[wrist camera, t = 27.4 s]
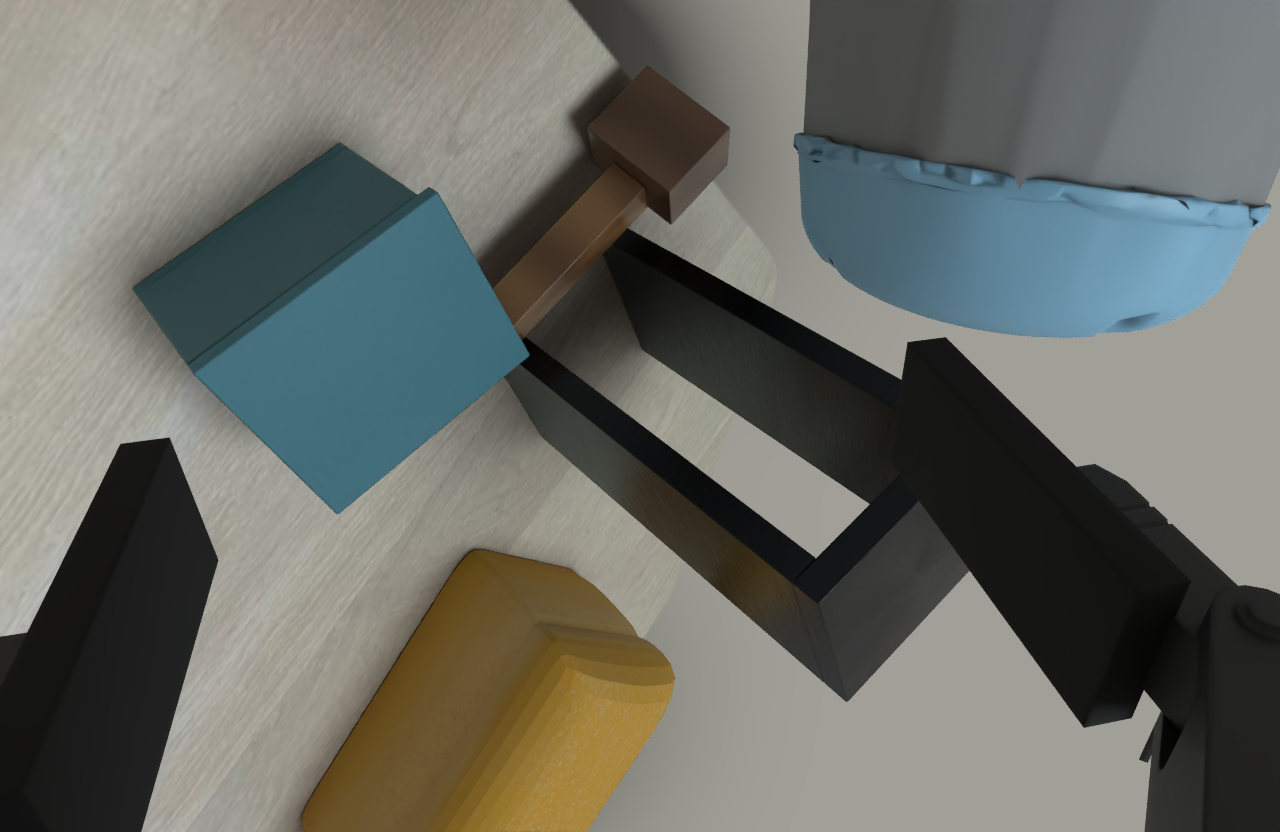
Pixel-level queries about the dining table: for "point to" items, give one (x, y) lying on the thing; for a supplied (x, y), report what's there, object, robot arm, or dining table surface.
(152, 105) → the dining table surface
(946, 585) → the black arch block
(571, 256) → the mallet
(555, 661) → the bread
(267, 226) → the caddy
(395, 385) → the lid
